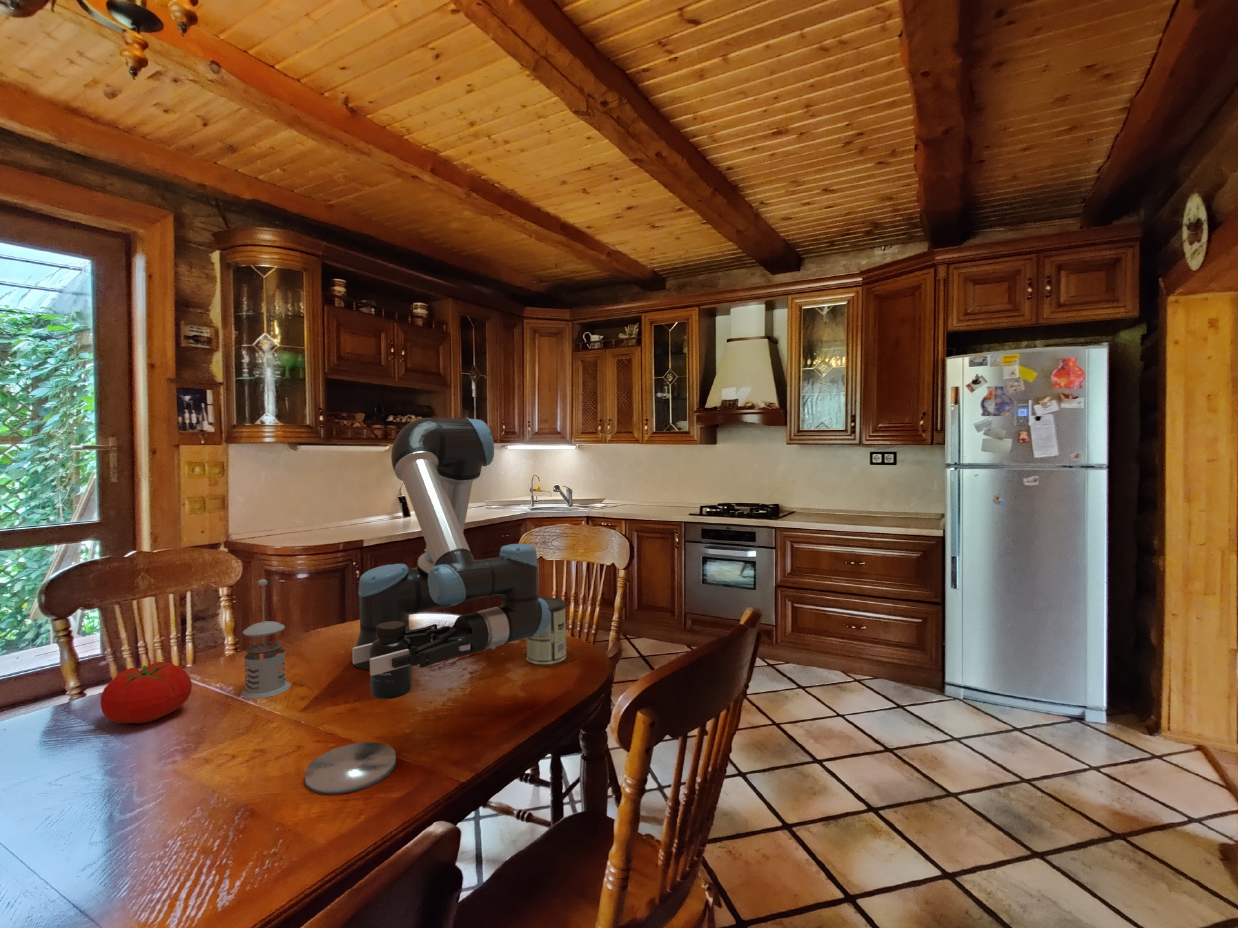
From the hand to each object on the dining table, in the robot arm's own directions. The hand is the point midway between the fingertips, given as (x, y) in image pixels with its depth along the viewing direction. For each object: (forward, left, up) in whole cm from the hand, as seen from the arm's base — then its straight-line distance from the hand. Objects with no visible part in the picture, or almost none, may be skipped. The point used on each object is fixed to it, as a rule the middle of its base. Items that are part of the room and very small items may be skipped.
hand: (362, 661), depth 102 cm
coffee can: (-20, +53, -18) cm, 59 cm away
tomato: (-50, -25, -18) cm, 59 cm away
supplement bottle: (0, +5, -7) cm, 9 cm away
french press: (-49, -4, -18) cm, 52 cm away
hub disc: (0, -2, -18) cm, 18 cm away
